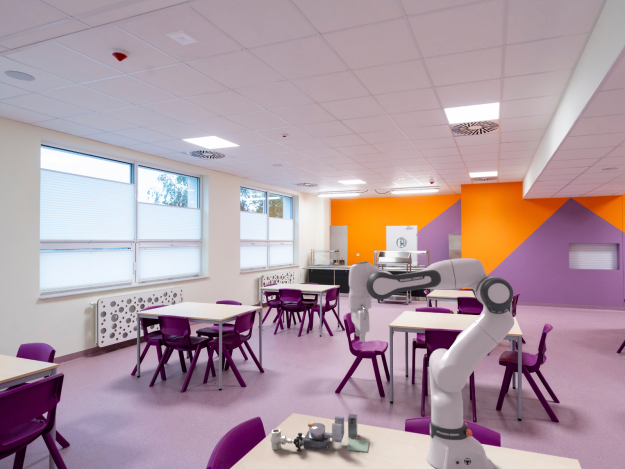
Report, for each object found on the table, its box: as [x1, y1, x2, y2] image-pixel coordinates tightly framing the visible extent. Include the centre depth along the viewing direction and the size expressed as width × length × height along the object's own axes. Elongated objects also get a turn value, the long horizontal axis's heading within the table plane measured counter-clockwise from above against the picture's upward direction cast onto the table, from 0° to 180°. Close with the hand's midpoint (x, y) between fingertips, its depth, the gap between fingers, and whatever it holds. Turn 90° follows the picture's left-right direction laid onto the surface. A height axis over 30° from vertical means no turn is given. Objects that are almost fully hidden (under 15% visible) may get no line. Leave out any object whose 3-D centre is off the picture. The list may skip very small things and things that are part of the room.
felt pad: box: [346, 438, 370, 453], centre depth 154 cm, size 8×8×1 cm
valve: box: [270, 428, 303, 452], centre depth 152 cm, size 7×7×12 cm
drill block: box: [302, 430, 331, 451], centre depth 156 cm, size 12×8×3 cm
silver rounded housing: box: [307, 416, 345, 444], centre depth 155 cm, size 14×8×7 cm, turn 77°
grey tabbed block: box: [347, 413, 358, 439], centre depth 163 cm, size 3×6×8 cm, turn 167°
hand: (360, 338), depth 154 cm, fingers open, 8 cm apart
